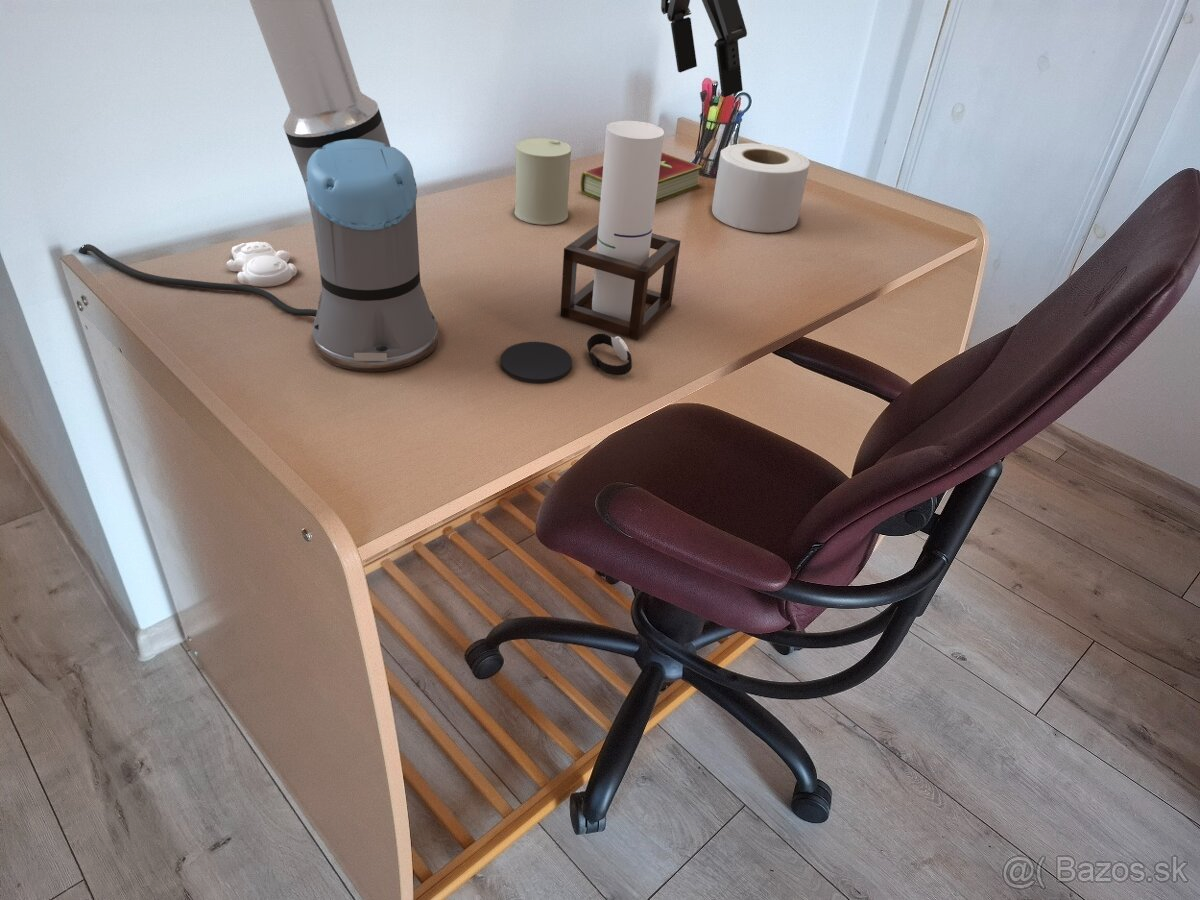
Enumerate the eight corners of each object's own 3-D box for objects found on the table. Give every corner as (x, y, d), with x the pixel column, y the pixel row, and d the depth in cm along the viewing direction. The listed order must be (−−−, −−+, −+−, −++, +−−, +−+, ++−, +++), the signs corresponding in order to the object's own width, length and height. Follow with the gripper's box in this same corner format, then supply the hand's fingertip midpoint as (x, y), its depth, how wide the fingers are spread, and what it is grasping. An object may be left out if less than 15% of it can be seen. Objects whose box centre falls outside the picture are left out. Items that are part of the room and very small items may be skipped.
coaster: (486, 369, 103) (486, 364, 103) (523, 338, 110) (523, 334, 109) (549, 391, 100) (550, 387, 100) (584, 358, 107) (584, 354, 106)
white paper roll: (694, 213, 149) (703, 152, 143) (741, 193, 159) (752, 136, 153) (768, 241, 142) (781, 178, 135) (812, 218, 152) (827, 159, 145)
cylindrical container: (637, 327, 114) (659, 142, 99) (586, 318, 115) (601, 133, 100) (645, 303, 120) (668, 125, 105) (597, 295, 121) (612, 117, 106)
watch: (640, 374, 105) (643, 349, 103) (609, 383, 103) (612, 357, 100) (607, 345, 110) (609, 321, 108) (577, 353, 108) (578, 328, 105)
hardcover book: (579, 192, 153) (581, 169, 150) (651, 169, 166) (653, 148, 164) (629, 212, 147) (632, 189, 145) (699, 187, 160) (703, 165, 158)
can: (578, 214, 145) (583, 144, 138) (547, 229, 138) (550, 157, 131) (535, 200, 148) (537, 131, 141) (503, 214, 142) (504, 143, 135)
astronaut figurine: (285, 248, 125) (282, 229, 123) (301, 282, 117) (298, 262, 115) (222, 255, 122) (218, 236, 120) (235, 291, 113) (231, 271, 112)
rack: (560, 316, 115) (563, 248, 109) (598, 284, 124) (603, 219, 118) (637, 340, 112) (645, 271, 105) (671, 306, 120) (680, 240, 114)
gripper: (765, -100, 91) (779, 94, 105) (671, -116, 110) (693, 51, 124) (704, -79, 90) (726, 114, 104) (619, -98, 109) (648, 68, 123)
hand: (708, 80), depth 114 cm, fingers open, 13 cm apart
